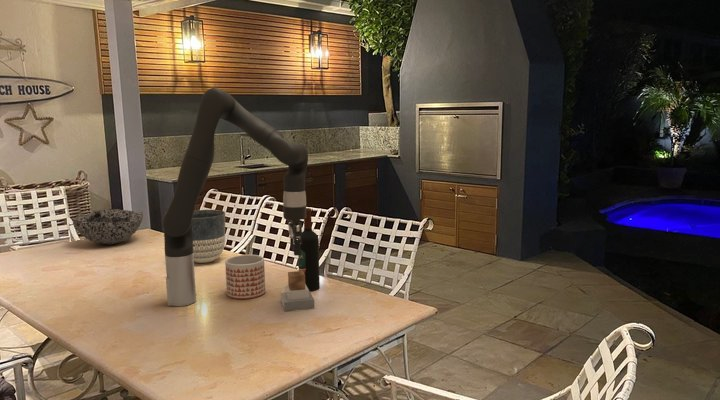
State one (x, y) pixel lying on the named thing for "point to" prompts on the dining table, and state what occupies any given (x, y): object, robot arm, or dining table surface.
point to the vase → (245, 276)
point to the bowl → (108, 225)
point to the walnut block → (296, 280)
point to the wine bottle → (309, 254)
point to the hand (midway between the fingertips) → (295, 252)
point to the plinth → (297, 299)
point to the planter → (208, 235)
